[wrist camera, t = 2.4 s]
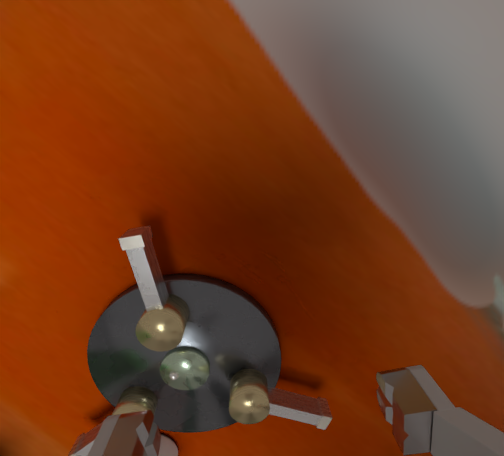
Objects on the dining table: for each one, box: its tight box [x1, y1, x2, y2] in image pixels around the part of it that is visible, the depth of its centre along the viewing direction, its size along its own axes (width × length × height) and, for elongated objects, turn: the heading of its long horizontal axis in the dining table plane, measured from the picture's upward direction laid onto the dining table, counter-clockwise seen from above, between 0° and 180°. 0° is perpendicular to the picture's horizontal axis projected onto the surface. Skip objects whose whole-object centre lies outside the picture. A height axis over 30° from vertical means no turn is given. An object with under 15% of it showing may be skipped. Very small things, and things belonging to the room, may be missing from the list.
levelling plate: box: [87, 274, 281, 432], centre depth 30 cm, size 20×20×3 cm
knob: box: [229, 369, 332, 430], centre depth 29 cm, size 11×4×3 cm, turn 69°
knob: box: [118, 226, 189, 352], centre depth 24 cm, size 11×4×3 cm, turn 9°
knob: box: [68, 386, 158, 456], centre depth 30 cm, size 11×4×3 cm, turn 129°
